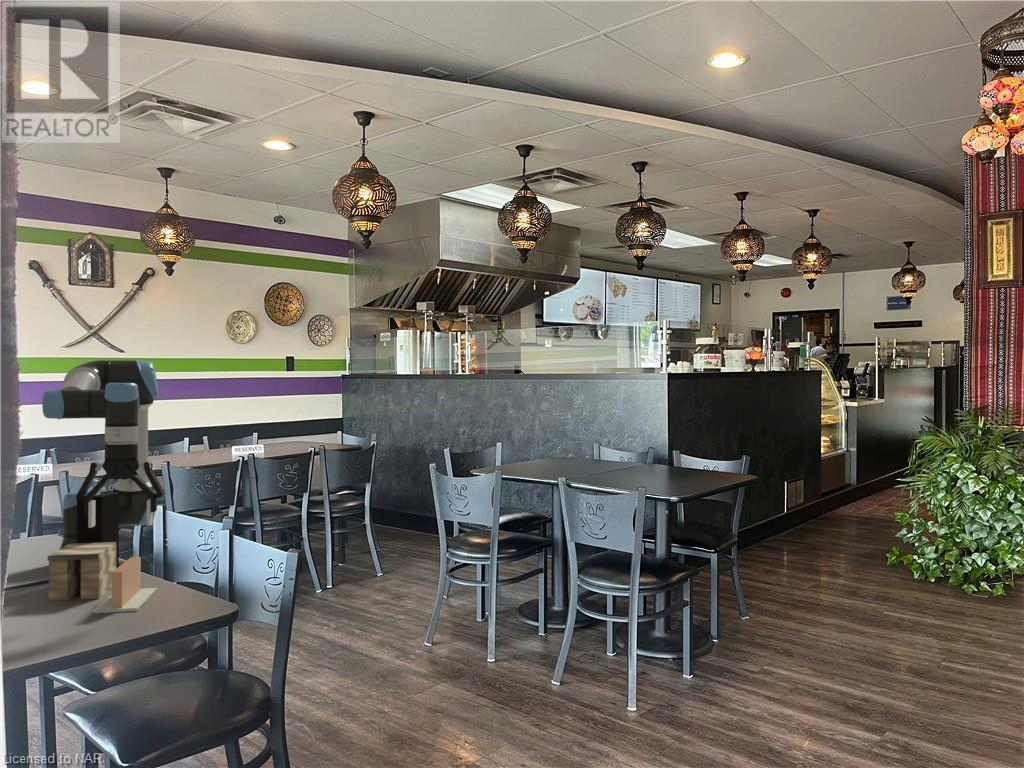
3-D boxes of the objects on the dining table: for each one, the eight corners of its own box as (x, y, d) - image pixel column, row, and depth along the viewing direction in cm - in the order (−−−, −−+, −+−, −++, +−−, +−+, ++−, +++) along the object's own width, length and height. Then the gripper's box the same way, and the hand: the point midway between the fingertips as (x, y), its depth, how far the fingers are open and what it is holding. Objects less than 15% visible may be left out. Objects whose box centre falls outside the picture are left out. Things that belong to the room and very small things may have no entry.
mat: (117, 592, 199) (117, 589, 199) (156, 590, 201) (156, 587, 201) (93, 613, 181) (93, 610, 181) (137, 611, 183) (137, 607, 183)
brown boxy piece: (69, 586, 205) (69, 543, 204) (116, 584, 207) (116, 542, 207) (47, 602, 190) (47, 556, 190) (97, 599, 192) (98, 554, 192)
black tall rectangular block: (119, 575, 216) (119, 481, 216) (101, 583, 208) (102, 485, 208) (94, 574, 217) (94, 480, 217) (75, 582, 209) (76, 484, 209)
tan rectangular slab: (131, 590, 198) (131, 557, 198) (140, 589, 199) (140, 556, 199) (111, 608, 183) (111, 572, 183) (121, 607, 183) (122, 571, 183)
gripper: (61, 444, 180) (61, 530, 180) (170, 443, 185) (169, 527, 186) (73, 442, 188) (72, 524, 188) (177, 441, 193) (176, 521, 193)
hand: (121, 525), depth 187 cm, fingers open, 13 cm apart
